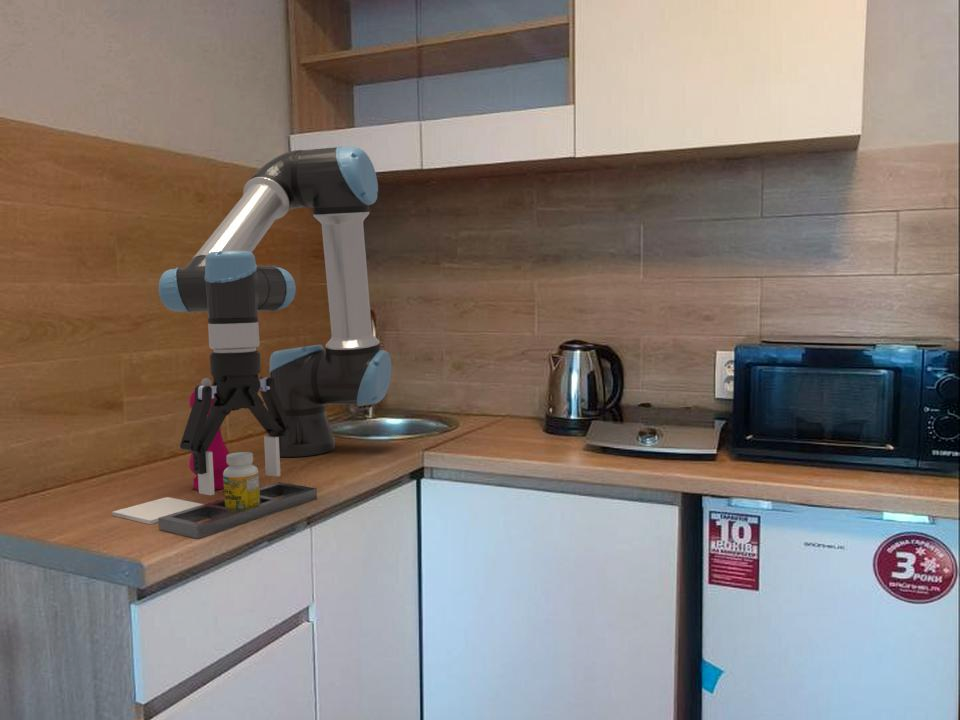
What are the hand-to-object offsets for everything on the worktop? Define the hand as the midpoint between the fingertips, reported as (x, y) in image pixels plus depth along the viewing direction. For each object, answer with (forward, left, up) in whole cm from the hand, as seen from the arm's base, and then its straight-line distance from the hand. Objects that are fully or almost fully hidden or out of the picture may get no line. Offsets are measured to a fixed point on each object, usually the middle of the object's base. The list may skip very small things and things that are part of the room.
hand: (241, 484), depth 122 cm
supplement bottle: (0, 0, -5) cm, 5 cm away
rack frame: (0, 0, -5) cm, 5 cm away
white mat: (+6, -13, -5) cm, 15 cm away
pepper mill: (-9, -19, -5) cm, 22 cm away
